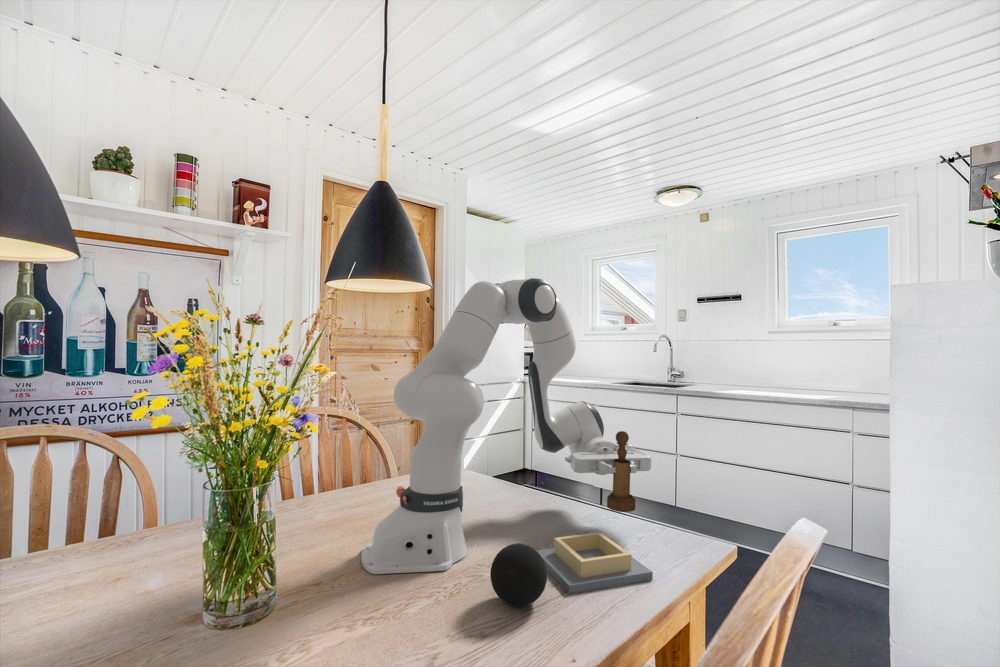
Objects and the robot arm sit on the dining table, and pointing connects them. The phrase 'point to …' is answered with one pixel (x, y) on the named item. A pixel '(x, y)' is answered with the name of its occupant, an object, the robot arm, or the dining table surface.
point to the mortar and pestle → (621, 479)
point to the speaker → (518, 575)
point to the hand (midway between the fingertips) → (623, 470)
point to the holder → (592, 563)
